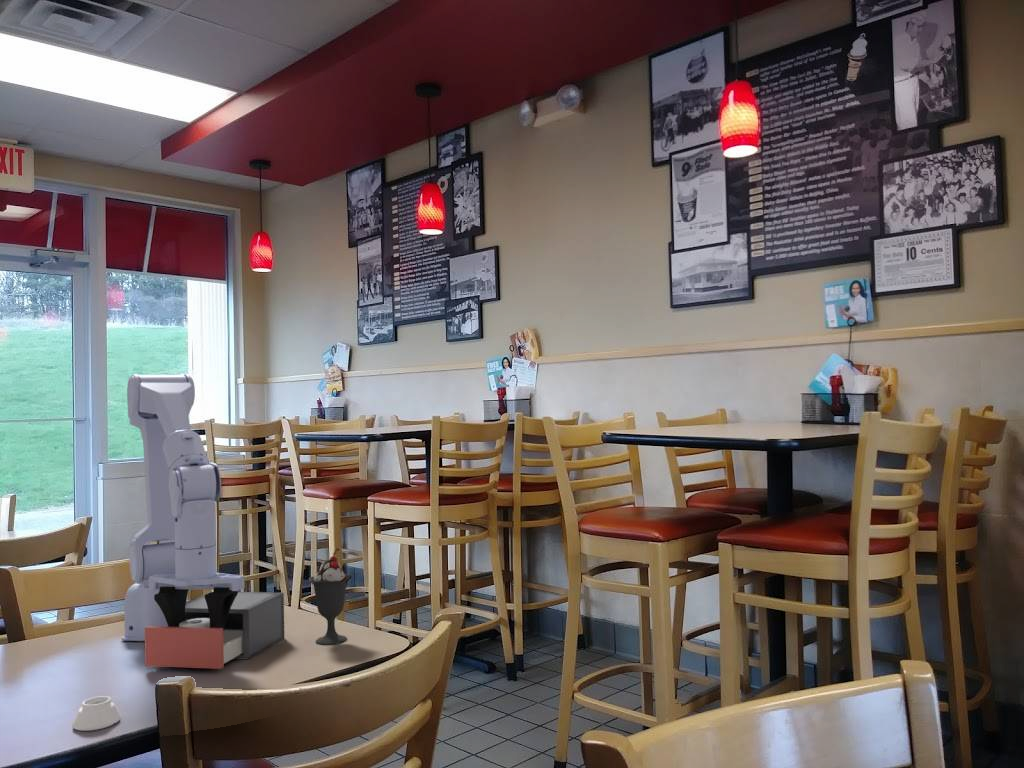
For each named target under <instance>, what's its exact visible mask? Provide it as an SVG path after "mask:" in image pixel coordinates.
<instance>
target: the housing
mask: <svg viewBox="0 0 1024 768" xmlns="http://www.w3.org/2000/svg"><path fill="white" fill-rule="evenodd" d="M211 592H212V591H210V592H207V593H205V594H202V595H200V596H198V597H197V596H196V597H195V598H193V599H190V600H188V601H187V602H186V606H185V621H186V620H190V619H196V618H209V612H208V607H207V603H206V600H205V595H206V594H208V593H211ZM284 595H285V594H284V592H272V591H271V592H270V591H269V592H267V591H266V592H265V591H264V592H263V591H258V592H256V591H238V594H237V596H236V598H235V600H234V602H233V604H232V606H231V608H230V611H229V614H228V617H227V620H226V624H225V628H224V629H236V630H243V653H242V654H240V655H238V656H236V657H235V658H233V659H232V660H235V659H237V660H238V659H239V660H250V659H252V658H254V657H256V656H257V655H259V654H261V653H262V652H264V651H266V650H267V649H269V648H271V647H272V646H274V645H275V644H276V645H277V643H280V641H282V640H284V639H285V601H284V600H285V599H284V597H285V596H284Z"/></svg>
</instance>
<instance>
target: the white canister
mask: <svg viewBox="0 0 1024 768" xmlns="http://www.w3.org/2000/svg"><path fill="white" fill-rule="evenodd" d="M179 627H203V628H210V618H196V619H190V620H186V621H183V622H181V623H180V624H179Z"/></svg>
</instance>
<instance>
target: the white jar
mask: <svg viewBox="0 0 1024 768" xmlns="http://www.w3.org/2000/svg"><path fill="white" fill-rule="evenodd" d="M120 720H121V714H120V712H119V710H118V708H117V706H116V705H115V703H114V702H112V698H111V697H110V696H109V695H108V696H107V695H106V696H105V695H101V696H94V697H91V698H87V699H85V700H83V701H82V703H81V707H80V708H79V709H78V710H77V712H76V715H75V717H74V718H73V721H72V728H73V729H74V730H77V731H81V732H94V731H98V729H99V730H103V729H106V728H110V727H111V726H112V725H115V724H116V723H118V722H119V721H120ZM114 723H115V724H114ZM93 730H94V731H93Z"/></svg>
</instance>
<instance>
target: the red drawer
mask: <svg viewBox="0 0 1024 768" xmlns="http://www.w3.org/2000/svg"><path fill="white" fill-rule="evenodd" d="M242 653H243V630H236V629H224V633H223V628H203V627H164V626H147V627H145V641H144V666H145V667H164V668H191V669H218V670H219V669H220V670H221V669H222V668H224V666H225V665H224V664H226V663H228V662H229V661H231V660H234V659H233V658H235V657H236V656H238V655H240V654H242Z"/></svg>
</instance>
